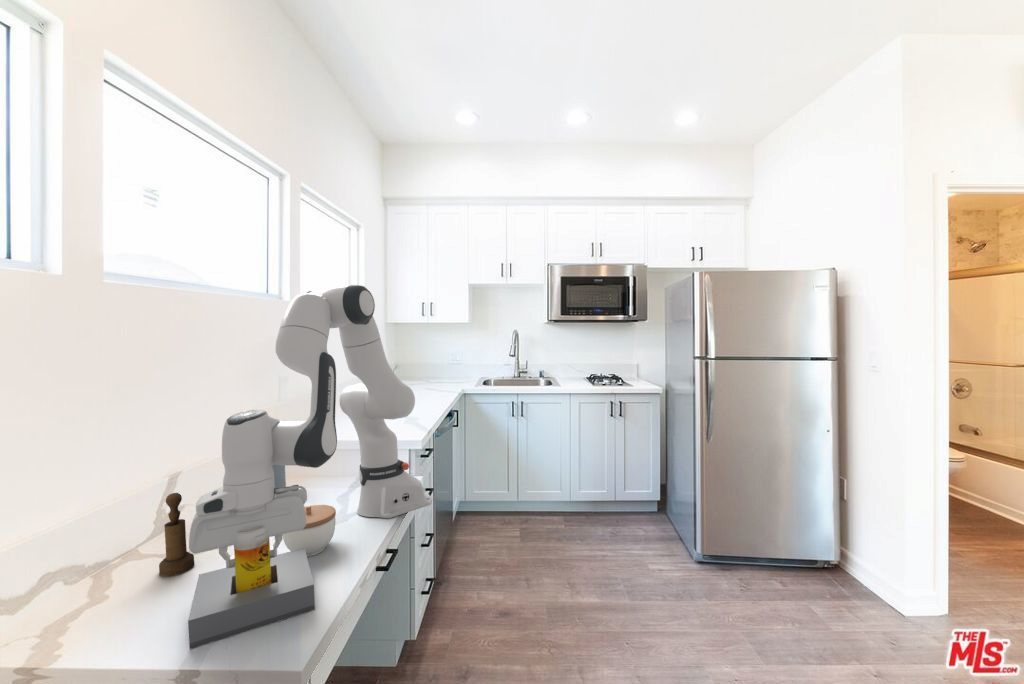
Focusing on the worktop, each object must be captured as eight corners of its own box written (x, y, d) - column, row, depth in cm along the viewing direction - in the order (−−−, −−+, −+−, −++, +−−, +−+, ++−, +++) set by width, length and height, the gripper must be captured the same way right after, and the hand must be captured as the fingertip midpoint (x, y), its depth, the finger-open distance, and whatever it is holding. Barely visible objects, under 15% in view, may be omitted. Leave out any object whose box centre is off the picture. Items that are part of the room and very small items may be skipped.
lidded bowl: (284, 545, 115) (282, 502, 115) (336, 534, 120) (334, 494, 120) (280, 567, 104) (278, 520, 104) (338, 555, 109) (336, 510, 109)
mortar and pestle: (156, 579, 100) (152, 500, 100) (162, 567, 106) (159, 492, 106) (191, 571, 104) (188, 494, 103) (196, 559, 109) (193, 486, 109)
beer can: (257, 611, 85) (253, 533, 85) (229, 609, 86) (225, 532, 86) (278, 593, 91) (275, 520, 91) (252, 591, 92) (249, 519, 92)
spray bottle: (251, 499, 151) (248, 425, 150) (278, 491, 158) (275, 421, 158) (264, 504, 145) (261, 428, 145) (291, 495, 153) (288, 423, 152)
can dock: (305, 569, 102) (304, 548, 102) (315, 609, 87) (313, 584, 87) (200, 598, 92) (199, 574, 92) (189, 649, 77) (187, 620, 77)
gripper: (305, 479, 97) (307, 542, 97) (190, 498, 87) (192, 569, 87) (308, 486, 92) (310, 553, 92) (185, 508, 81) (188, 584, 81)
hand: (252, 561), depth 89 cm, fingers closed on beer can, 6 cm apart
